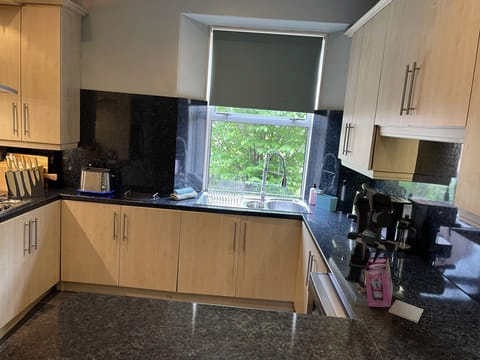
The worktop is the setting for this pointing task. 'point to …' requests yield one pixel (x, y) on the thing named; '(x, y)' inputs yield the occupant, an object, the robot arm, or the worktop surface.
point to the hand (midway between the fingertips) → (367, 261)
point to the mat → (406, 311)
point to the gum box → (378, 282)
